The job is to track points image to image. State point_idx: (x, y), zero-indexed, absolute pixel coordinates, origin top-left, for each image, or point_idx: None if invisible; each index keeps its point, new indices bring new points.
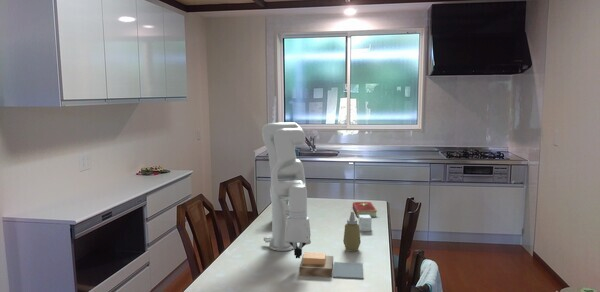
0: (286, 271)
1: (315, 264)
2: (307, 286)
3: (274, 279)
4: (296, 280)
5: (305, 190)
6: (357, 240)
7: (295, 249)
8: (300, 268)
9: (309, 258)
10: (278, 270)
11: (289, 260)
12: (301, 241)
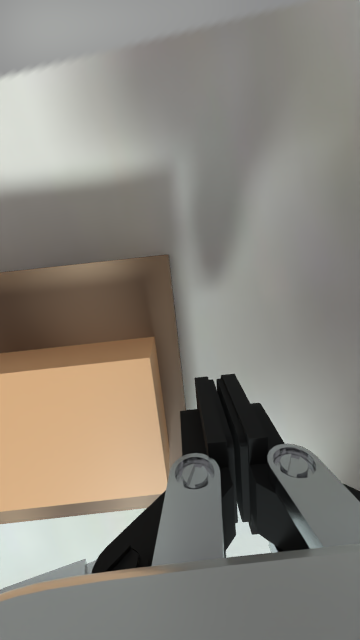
0: (273, 300)
1: (37, 343)
2: (56, 64)
3: (340, 141)
4: (169, 161)
5: None
6: None
7: (269, 450)
8: (157, 256)
9: (75, 364)
10: (332, 303)
11: None
12: (147, 616)
